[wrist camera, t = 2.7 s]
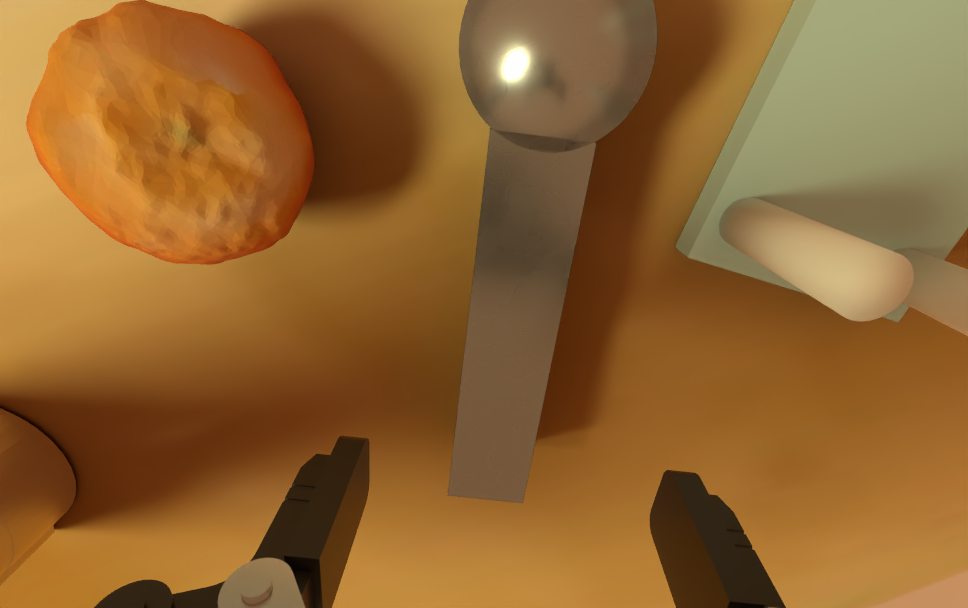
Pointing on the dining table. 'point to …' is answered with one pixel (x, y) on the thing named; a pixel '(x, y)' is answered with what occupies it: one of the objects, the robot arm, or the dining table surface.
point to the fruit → (172, 133)
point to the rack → (850, 162)
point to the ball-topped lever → (533, 205)
